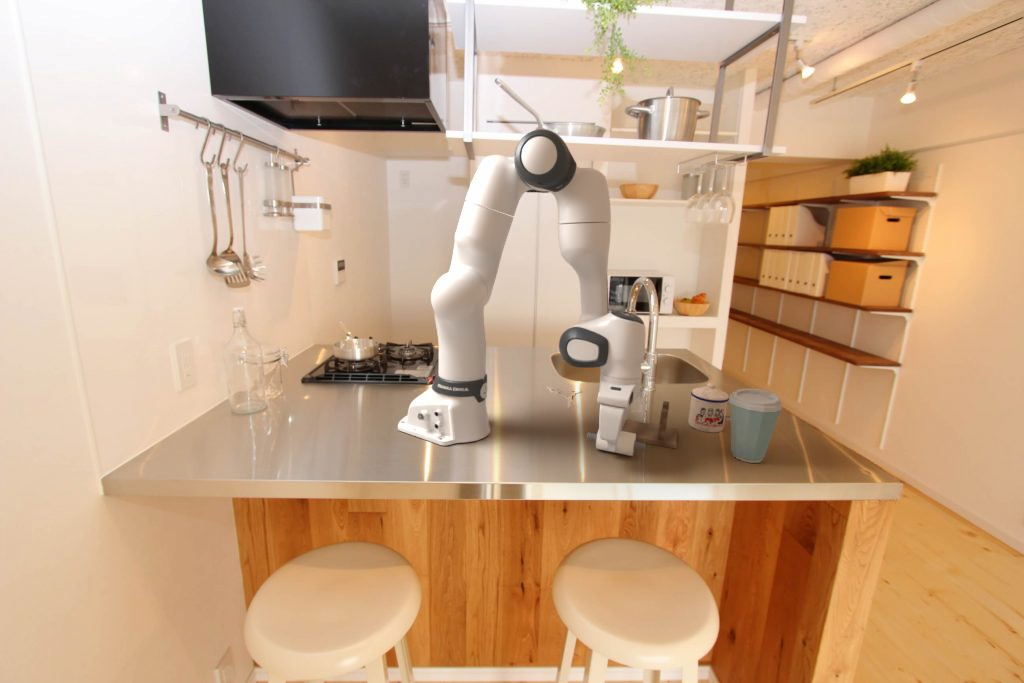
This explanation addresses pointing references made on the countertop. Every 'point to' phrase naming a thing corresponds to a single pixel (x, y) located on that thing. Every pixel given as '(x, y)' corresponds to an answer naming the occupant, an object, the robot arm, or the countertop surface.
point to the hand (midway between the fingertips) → (613, 444)
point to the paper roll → (619, 443)
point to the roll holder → (654, 430)
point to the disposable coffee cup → (752, 422)
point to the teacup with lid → (708, 408)
